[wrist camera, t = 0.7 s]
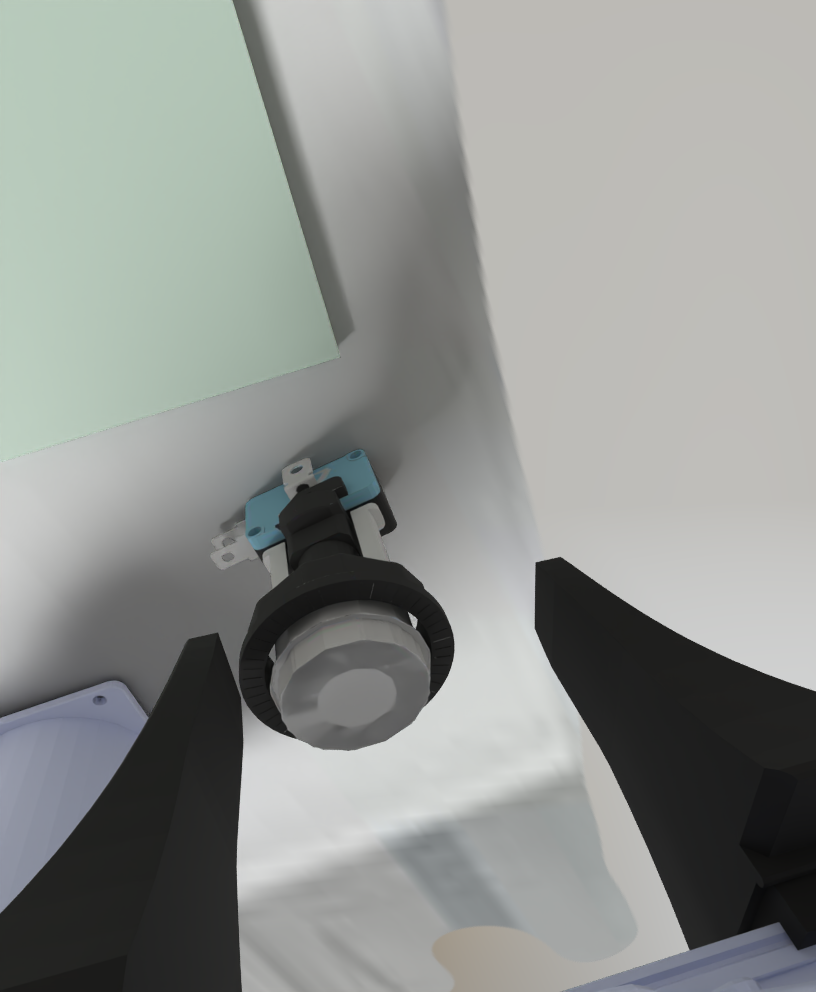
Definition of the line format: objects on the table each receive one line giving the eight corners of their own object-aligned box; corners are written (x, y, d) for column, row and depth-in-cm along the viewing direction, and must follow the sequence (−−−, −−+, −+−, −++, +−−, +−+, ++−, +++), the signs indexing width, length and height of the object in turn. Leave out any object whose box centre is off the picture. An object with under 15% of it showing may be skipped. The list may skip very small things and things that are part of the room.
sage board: (-29, 460, 20) (-41, 474, 19) (-365, -18, 13) (-406, -28, 12) (336, 348, 21) (340, 357, 20) (185, -150, 14) (181, -168, 13)
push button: (250, 587, 24) (255, 825, 16) (175, 480, 22) (134, 702, 13) (405, 516, 24) (492, 716, 16) (350, 400, 22) (422, 569, 13)
